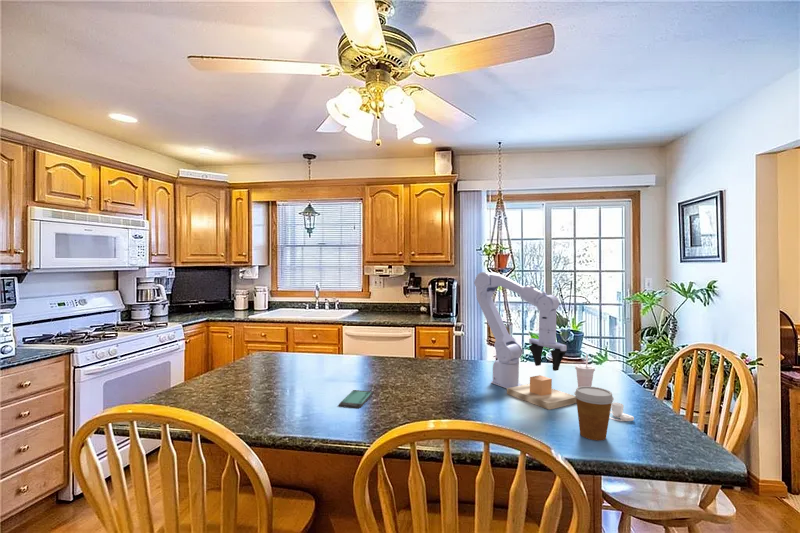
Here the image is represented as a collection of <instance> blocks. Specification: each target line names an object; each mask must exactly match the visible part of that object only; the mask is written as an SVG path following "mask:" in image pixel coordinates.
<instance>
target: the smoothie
mask: <svg viewBox="0 0 800 533" xmlns="http://www.w3.org/2000/svg"><path fill="white" fill-rule="evenodd" d="M588 356H589V354H585V364H576V365H575V366H574V367H575V368H574V369H575V370H576V379H577V381H576V382H577V388H578V387H582V386H590V387H593V378H594V372H595V371H596V367H594V366H592V365H588V363H589V358H588Z"/></svg>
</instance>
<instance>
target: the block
mask: <svg viewBox="0 0 800 533" xmlns="http://www.w3.org/2000/svg"><path fill="white" fill-rule="evenodd" d="M552 381H553V378H550V377H547V376H543V375H540V374H539V375H533V376H529V384H530V392H532V393H535V394H538V395H541V396H542V395H547V394H551V392H552V389H553V388H552V387H553V386H552V384H553V382H552Z"/></svg>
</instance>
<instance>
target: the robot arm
mask: <svg viewBox="0 0 800 533" xmlns="http://www.w3.org/2000/svg"><path fill="white" fill-rule="evenodd" d="M473 284H474V285H475V288H476V289H475V292H476V300H477V303H478V304H479V306H480V309H481V311H482V313H483V315H484V318H485V320H486V322H487V324H488V326H489V328H490V330H491V333H492V334H493V337H494V339H495V341H494V345H493V347H494V349H495V356H496V358H497V359H496V360H495V361H494V362H493V365H492V380H491V381H490V383H491V384H493V385H496V386H499V387H501V388H504V389H507V388H510V387H516V386H521V385H523V384H521V383H519V382H520V381H519V376H520V370H519V369H520V363H519V362H520V358H521V357H522V355H523V349H522V346H521V345H520V344H519V343H518V342H517V341H516V339H515V338H514V336H512V335H510V333H509V331H508V330H507V329H508V328H507V327H506V325H505V324H504V323H505V322H504V320H503V319H502V316H501V315H500V312H499V311H498V308H497V307H496V304H495V302H494V300H493V295H494V293H495V292H496V291H497V289H498V288H499V287H501V288H504V289H507V290H509V291H511V292H514V293H515V294H517V295H518V296H519V297H520V299H521V300H523V301H525V302H526V303H528V304H530V305H532V306H535V307H536V308H537V310H538V311H539V314H538V338H533V337H532V338H529V339H528V344H529V346H528V348H529V350H530V352H531V354H532V357H533V360H534V366H536V367H538V366H541V365H542V354H543V350H544V348H548V349H552V350H550V354H551V359H552V360H551V361H552V371H554V372H556V371H559V369H560V366H561V362H562V360H563V358H564V357H565V355H566V354H567V350H568V349H567V344H564V343H560V342H558V341H557V310H558V308H559V306H560V301H559V298H558V297H556V296H555V295H554V294H547V291H541V290H539V289H537V288H536V286H535V285H533V284H532V285H525V286H523V285H522V284H520V283H518V282H516V281H515V280H512V279H511V278H509V277H507V276H505V275H503V274H501V273H498V272H495V271H494V272H493V271H492V272H485V271H482V272H479V273H477V275H476V277H475V280H474V281H473Z"/></svg>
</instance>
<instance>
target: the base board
mask: <svg viewBox="0 0 800 533" xmlns="http://www.w3.org/2000/svg"><path fill="white" fill-rule="evenodd" d="M506 394H507V395H508V396H510V397H511V396H512V397H514V398H517V399H519V400H522V401H525V402H527V403H530V404H533V405H536V406H538V407H541V408H543V409H546V410H554V409H558V408H561V407H562V408H563V407H566V406H569V405H574V403H575V404H577V401H576V397H575V395H574V394H570V393H567V392H563V391H560V390H558V389H554V388H552V392H551V394H547V395H542V396H541V395H538V394H535V393H532V392H530V383H528V384H527V383H525V384H522V385H521V386H516V387H510V388H506Z"/></svg>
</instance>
